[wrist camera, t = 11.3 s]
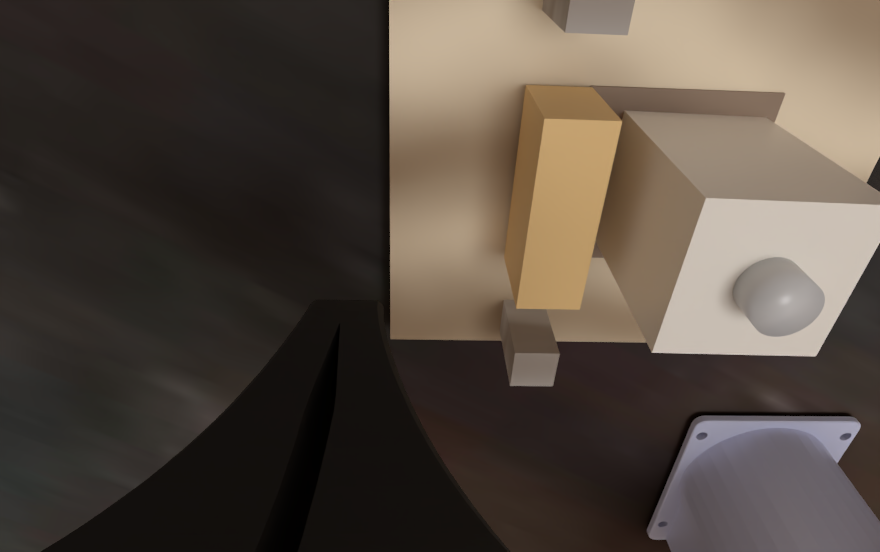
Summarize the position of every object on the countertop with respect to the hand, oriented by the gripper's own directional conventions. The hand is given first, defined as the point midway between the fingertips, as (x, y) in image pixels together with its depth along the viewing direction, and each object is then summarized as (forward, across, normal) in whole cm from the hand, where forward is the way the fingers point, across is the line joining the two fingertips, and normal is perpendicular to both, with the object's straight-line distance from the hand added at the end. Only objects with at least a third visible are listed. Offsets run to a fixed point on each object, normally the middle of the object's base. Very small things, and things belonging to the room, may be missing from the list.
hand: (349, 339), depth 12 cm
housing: (+8, -10, 0) cm, 13 cm away
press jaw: (+8, -5, 0) cm, 10 cm away
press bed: (+9, -8, 0) cm, 13 cm away
